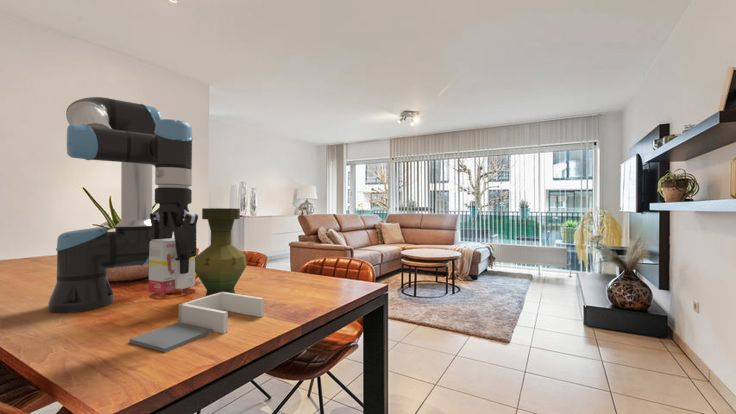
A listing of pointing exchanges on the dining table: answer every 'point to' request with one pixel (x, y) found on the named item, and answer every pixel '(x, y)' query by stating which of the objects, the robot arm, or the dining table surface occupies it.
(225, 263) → the vase
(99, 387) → the dining table surface
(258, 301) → the frame
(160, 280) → the ink box
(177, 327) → the stand pad
